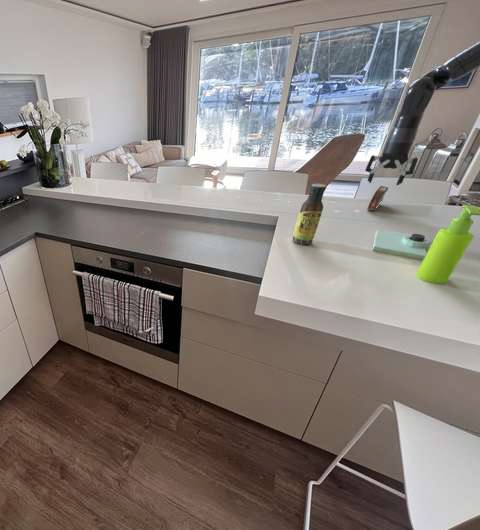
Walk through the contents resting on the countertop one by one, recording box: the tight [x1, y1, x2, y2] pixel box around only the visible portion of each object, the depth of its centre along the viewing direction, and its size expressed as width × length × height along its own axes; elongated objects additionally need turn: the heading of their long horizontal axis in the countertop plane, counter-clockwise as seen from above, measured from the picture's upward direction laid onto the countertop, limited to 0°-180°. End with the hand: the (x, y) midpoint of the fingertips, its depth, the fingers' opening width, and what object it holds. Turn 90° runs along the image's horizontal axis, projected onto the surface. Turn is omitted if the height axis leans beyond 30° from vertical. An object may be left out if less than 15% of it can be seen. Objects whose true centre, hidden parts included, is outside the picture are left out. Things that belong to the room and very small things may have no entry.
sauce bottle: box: [291, 183, 327, 245], centre depth 95 cm, size 6×6×20 cm
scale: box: [372, 228, 431, 261], centre depth 92 cm, size 12×16×3 cm
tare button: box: [410, 233, 426, 242], centre depth 89 cm, size 3×3×2 cm
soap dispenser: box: [415, 204, 480, 285], centre depth 72 cm, size 6×7×20 cm
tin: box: [367, 185, 389, 212], centre depth 118 cm, size 15×3×8 cm, turn 133°
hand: (383, 183), depth 115 cm, fingers open, 8 cm apart
